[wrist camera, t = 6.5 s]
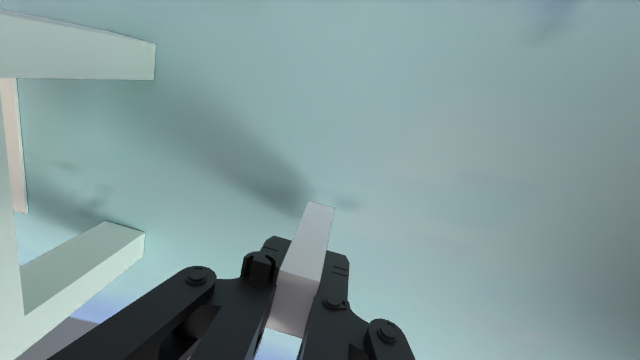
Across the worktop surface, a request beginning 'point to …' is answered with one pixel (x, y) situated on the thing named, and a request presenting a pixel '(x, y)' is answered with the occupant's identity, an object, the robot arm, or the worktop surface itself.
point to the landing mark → (14, 143)
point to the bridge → (3, 265)
